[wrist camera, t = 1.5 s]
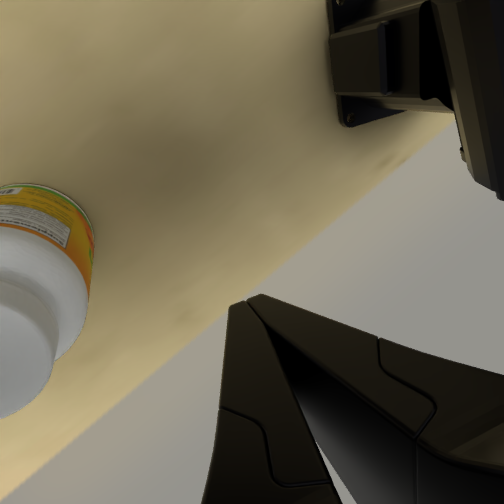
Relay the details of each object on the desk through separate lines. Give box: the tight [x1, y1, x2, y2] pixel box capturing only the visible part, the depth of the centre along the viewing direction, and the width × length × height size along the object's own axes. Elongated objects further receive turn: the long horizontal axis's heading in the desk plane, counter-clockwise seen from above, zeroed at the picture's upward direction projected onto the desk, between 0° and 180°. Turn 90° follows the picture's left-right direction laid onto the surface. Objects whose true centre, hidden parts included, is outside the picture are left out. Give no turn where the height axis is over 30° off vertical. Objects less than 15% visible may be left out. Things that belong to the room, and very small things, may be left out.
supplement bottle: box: [0, 184, 94, 419], centre depth 14 cm, size 5×5×10 cm
